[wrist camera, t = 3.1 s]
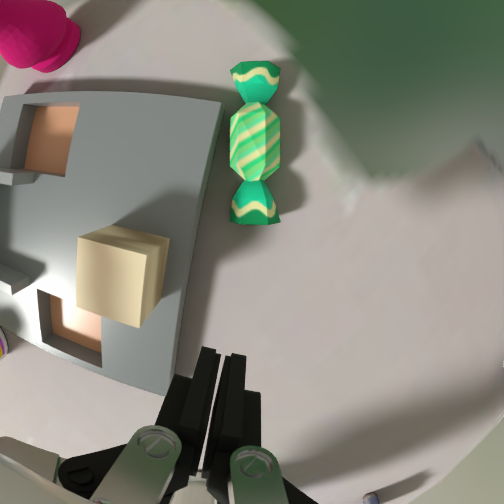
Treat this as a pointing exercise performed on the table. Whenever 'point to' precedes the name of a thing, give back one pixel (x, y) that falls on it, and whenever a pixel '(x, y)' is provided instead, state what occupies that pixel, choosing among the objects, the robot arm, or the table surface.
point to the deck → (99, 217)
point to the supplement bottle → (3, 345)
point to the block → (120, 273)
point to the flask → (371, 498)
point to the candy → (255, 143)
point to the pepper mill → (36, 34)
